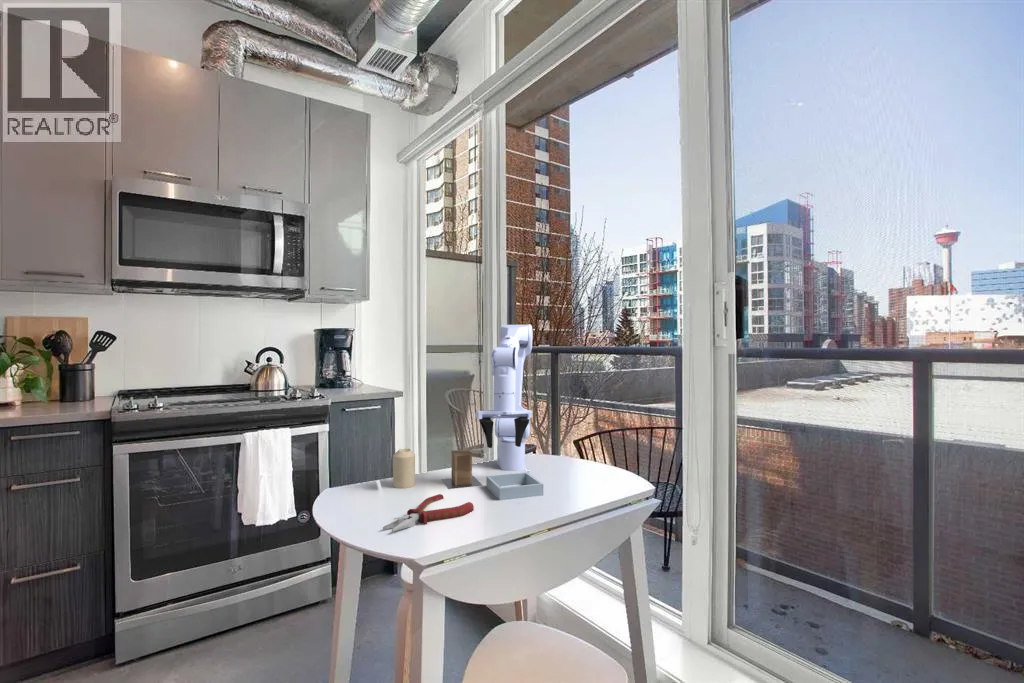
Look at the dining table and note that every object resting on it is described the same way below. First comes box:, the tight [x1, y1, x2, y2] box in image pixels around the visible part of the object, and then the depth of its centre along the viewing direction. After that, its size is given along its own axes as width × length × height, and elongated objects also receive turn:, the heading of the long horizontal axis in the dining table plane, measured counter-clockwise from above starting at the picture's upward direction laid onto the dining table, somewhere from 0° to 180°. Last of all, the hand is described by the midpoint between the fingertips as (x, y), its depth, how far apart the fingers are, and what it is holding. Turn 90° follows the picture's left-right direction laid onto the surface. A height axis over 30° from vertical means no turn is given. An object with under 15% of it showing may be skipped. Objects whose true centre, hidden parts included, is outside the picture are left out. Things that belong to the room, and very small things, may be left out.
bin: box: [485, 471, 544, 501], centre depth 122 cm, size 11×11×4 cm
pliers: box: [382, 494, 475, 532], centre depth 106 cm, size 12×20×3 cm, turn 143°
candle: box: [392, 448, 416, 489], centre depth 127 cm, size 6×6×10 cm
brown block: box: [451, 448, 473, 485], centre depth 130 cm, size 4×4×8 cm
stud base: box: [441, 475, 484, 490], centre depth 130 cm, size 9×9×3 cm
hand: (503, 446), depth 127 cm, fingers open, 7 cm apart
